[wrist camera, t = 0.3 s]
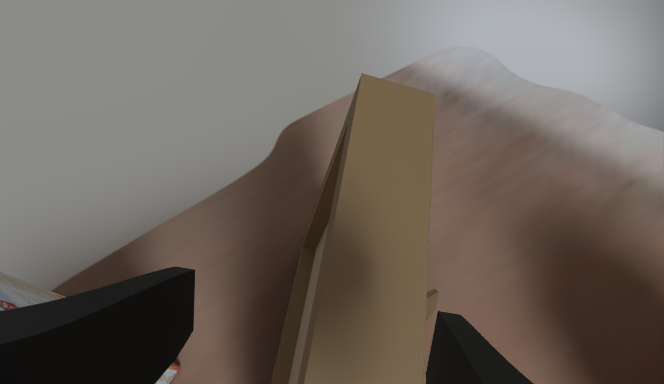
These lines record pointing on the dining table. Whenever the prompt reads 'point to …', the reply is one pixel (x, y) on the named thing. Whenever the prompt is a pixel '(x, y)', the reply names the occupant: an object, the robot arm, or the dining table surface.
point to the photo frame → (366, 249)
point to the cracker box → (17, 293)
